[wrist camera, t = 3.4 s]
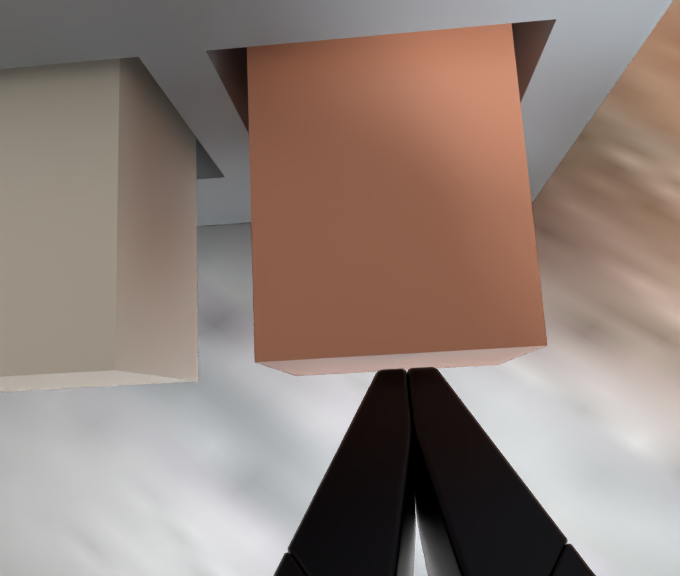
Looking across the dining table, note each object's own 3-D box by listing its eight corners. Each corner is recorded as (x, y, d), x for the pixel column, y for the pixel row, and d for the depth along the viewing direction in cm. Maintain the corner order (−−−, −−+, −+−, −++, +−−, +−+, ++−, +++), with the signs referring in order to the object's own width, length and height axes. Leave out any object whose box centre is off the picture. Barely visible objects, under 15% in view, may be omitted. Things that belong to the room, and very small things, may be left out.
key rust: (498, 364, 13) (547, 345, 9) (296, 375, 13) (254, 362, 9) (471, 83, 14) (503, -48, 10) (285, 98, 14) (244, -23, 10)
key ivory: (198, 381, 13) (114, 370, 9) (8, 391, 13) (-153, 385, 9) (195, 106, 14) (120, -11, 10) (21, 121, 14) (-118, 13, 10)
